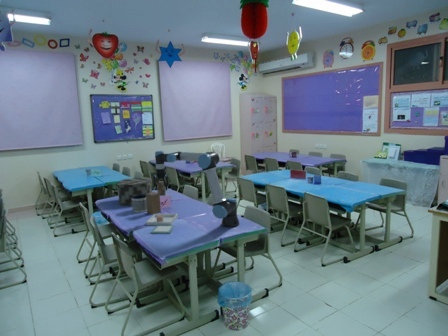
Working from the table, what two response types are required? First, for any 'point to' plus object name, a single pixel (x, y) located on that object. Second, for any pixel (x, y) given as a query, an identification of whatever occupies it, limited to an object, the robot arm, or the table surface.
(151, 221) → the tray
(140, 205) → the planter
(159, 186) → the walnut box
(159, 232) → the board
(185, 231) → the table surface
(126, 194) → the storage box
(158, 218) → the clay cube
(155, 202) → the wooden block
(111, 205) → the table surface
